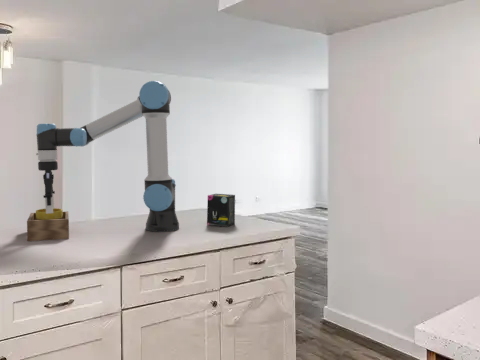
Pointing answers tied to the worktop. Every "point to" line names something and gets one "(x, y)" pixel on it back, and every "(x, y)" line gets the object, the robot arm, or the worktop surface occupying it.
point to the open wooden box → (47, 228)
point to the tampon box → (221, 210)
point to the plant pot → (49, 214)
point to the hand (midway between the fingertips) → (50, 211)
